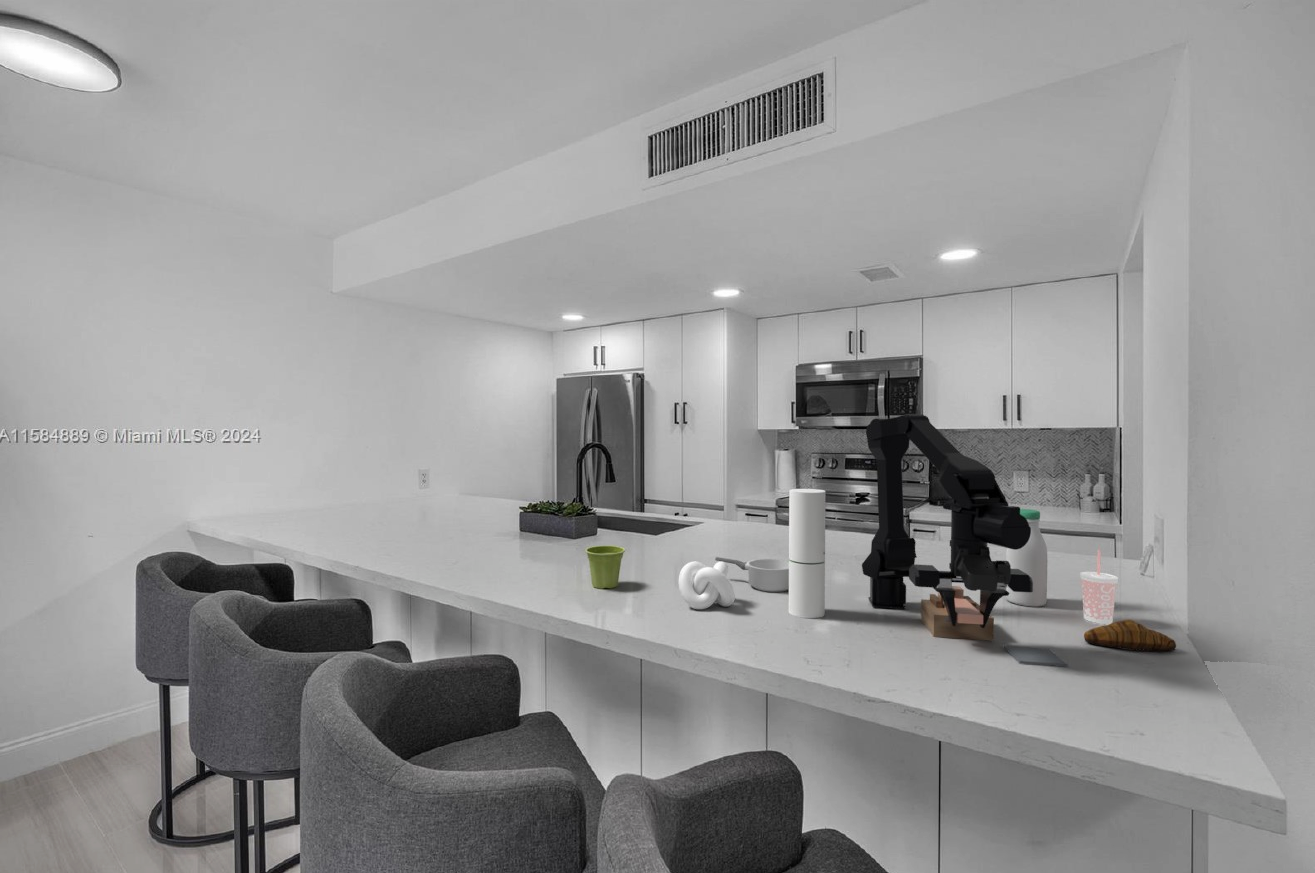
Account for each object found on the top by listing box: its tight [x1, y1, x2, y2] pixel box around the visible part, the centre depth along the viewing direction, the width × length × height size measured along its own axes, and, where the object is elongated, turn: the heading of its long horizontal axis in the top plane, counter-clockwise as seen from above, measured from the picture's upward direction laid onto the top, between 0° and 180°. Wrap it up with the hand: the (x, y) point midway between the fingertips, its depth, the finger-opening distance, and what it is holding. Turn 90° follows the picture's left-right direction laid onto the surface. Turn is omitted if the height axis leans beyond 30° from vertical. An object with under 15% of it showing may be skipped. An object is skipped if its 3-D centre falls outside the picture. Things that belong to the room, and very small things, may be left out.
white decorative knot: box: [678, 560, 736, 611], centre depth 130 cm, size 11×12×9 cm
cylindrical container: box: [788, 488, 826, 619], centre depth 125 cm, size 7×7×25 cm
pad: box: [1003, 645, 1069, 667], centre depth 102 cm, size 7×7×1 cm
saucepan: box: [715, 556, 789, 593], centre depth 147 cm, size 12×20×6 cm, turn 60°
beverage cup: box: [1079, 549, 1119, 626], centre depth 120 cm, size 6×6×14 cm
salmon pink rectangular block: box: [943, 598, 983, 624], centre depth 111 cm, size 4×10×2 cm, turn 169°
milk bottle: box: [1004, 508, 1048, 607], centre depth 132 cm, size 8×8×20 cm
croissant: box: [1083, 619, 1177, 652], centre depth 106 cm, size 14×7×5 cm, turn 75°
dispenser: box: [920, 585, 995, 641], centre depth 115 cm, size 10×10×7 cm
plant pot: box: [585, 545, 626, 590], centre depth 146 cm, size 9×9×9 cm
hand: (967, 626), depth 108 cm, fingers open, 4 cm apart
